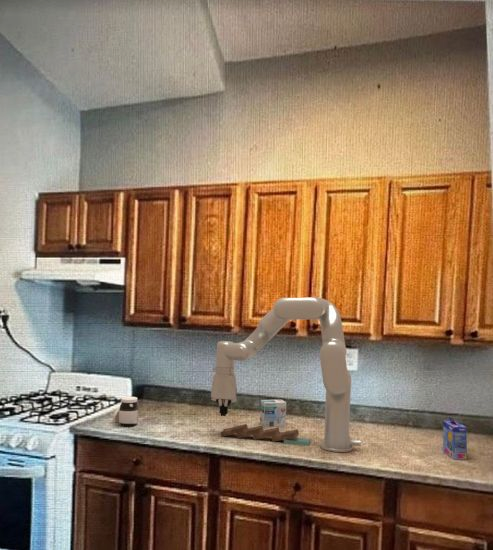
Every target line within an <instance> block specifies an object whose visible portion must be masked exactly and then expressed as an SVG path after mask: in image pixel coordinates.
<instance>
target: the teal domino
mask: <svg viewBox="0 0 493 550" xmlns="http://www.w3.org/2000/svg"><path fill="white" fill-rule="evenodd" d="M283 444H285V445H286V444H287V445H298V446H306V447H309V446H310V444H311V438H307V437H306V438H305V437H304V438H303V437H298V436H297V437H296V438H292V439H286V440H283Z"/></svg>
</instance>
